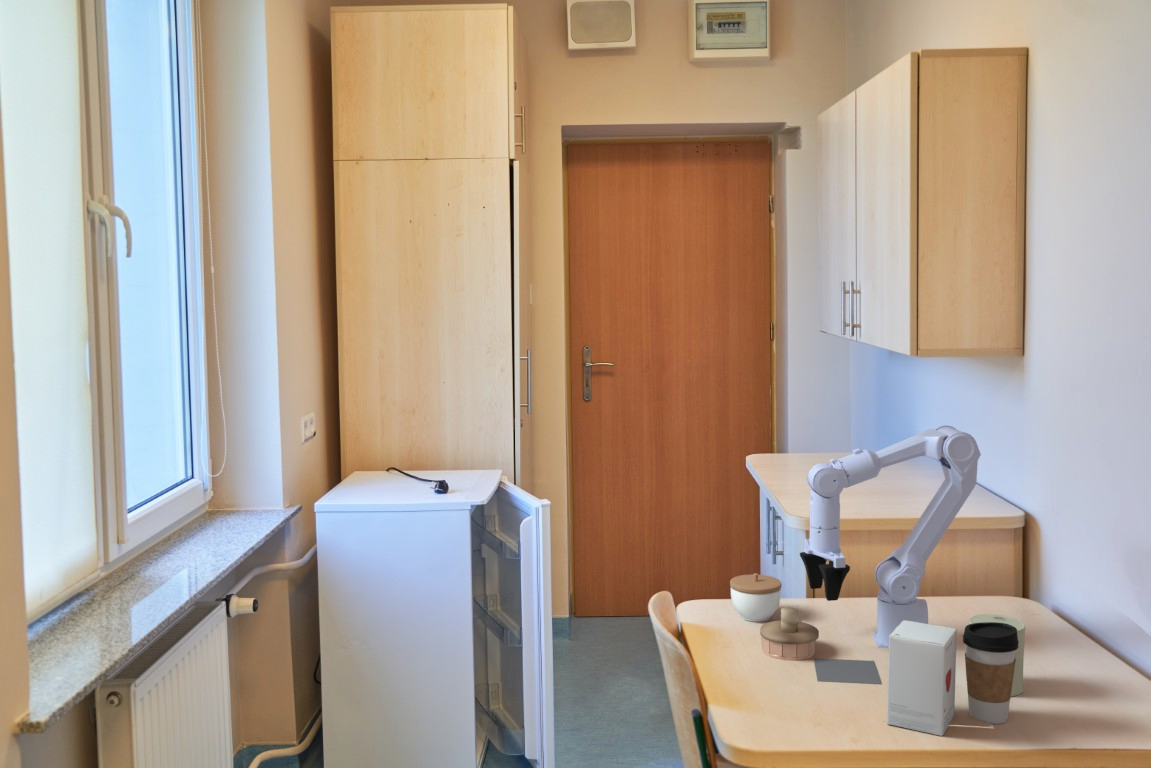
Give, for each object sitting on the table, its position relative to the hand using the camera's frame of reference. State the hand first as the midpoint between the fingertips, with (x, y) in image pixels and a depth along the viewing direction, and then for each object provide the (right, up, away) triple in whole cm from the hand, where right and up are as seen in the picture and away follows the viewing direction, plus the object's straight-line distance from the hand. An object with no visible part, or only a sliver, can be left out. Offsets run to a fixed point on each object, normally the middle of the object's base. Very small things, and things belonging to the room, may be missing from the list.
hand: (823, 594), depth 202 cm
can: (+25, -12, -21) cm, 35 cm away
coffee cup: (+19, -13, -33) cm, 40 cm away
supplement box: (+8, -14, -34) cm, 38 cm away
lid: (-8, -7, -4) cm, 11 cm away
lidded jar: (-10, -9, +17) cm, 22 cm away
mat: (+1, -11, -14) cm, 18 cm away
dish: (-8, -11, -4) cm, 13 cm away
